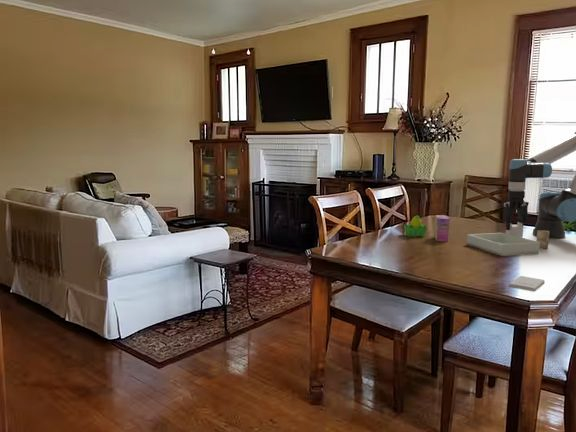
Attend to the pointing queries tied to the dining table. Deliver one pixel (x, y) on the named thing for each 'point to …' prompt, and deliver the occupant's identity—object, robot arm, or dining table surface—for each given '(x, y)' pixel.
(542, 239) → the beech cylinder
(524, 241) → the tote
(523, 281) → the external hard drive
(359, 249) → the dining table surface
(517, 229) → the grey cube
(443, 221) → the box
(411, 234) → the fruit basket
